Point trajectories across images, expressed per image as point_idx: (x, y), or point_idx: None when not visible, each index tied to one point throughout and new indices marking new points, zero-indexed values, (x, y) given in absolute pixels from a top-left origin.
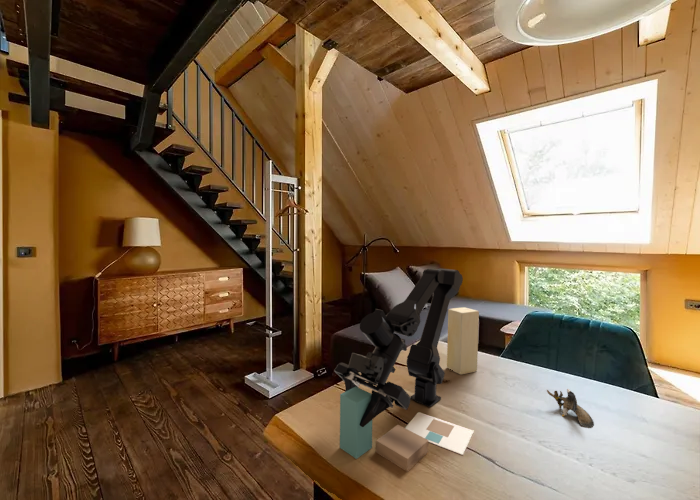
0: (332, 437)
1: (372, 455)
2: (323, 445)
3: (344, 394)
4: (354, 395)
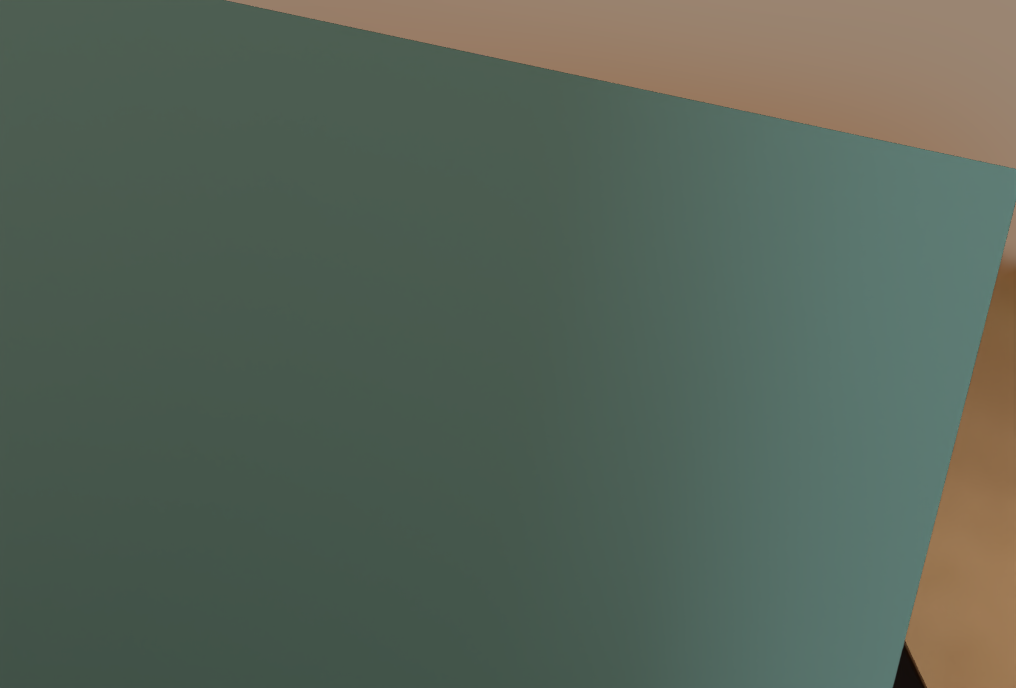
0: (972, 605)
1: None
2: (980, 388)
3: (764, 274)
4: (195, 449)
